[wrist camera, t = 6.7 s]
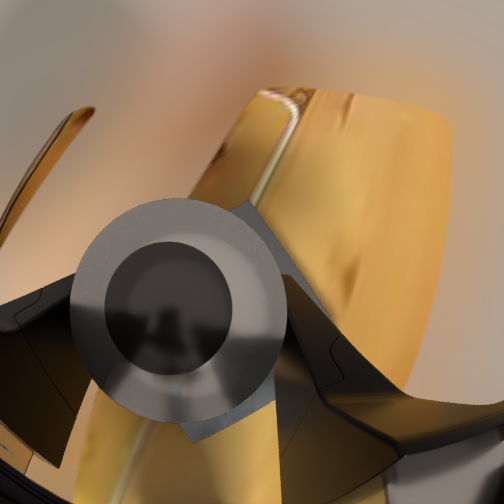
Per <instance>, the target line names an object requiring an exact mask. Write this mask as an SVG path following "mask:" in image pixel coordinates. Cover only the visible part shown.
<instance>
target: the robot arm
mask: <svg viewBox="0 0 504 504" xmlns="http://www.w3.org/2000/svg"><path fill="white" fill-rule="evenodd" d="M75 274H76V273H74V274H71V275H69V276H67V277H65V278H62V279H60V280H58V281H56V282H54V283H51V284H49V285H47V286H45V287H44V288H40V289H38V290H36V291H34V292H31V293H29V294H27V295H25V296H22V297H20V298H18V299H15V300H13V301H10V302H8V303H5V304H3V305H0V504H73V503H71V502H69V501H67V500H65V499H64V498H61V497H60V496H58V495H56V494H54V493H53V492H51V491H49V490H48V489H46V488H44V487H43V486H41V485H39V484H38V483H36V482H35V481H33V480H31V479H30V478H28V477H27V476H25V473H26V471H27V468H28V466H29V463H30V461H31V458H32V456H33V455H35V456H37V457H38V458H40V459H41V460H43V461H45V462H47V463H48V464H50V465H52V466H54V467H55V468H58V469H59V468H60V465H61V462H62V459H63V455H64V452H65V449H66V446H67V443H68V440H69V437H70V434H71V431H72V429H73V426H74V423H75V420H76V418H77V417H76V416H77V414H78V412H79V409H80V406H81V404H82V401H83V399H84V396H85V394H86V391H87V389H88V386H89V384H90V381H91V379H92V378H91V376H90V375H89V373H88V371H87V370H86V368H85V366H84V365H83V363H82V361H81V359H80V356H79V354H78V352H77V349H76V346H75V343H74V339H73V335H72V330H71V324H70V296H71V290H72V285H73V281H74V277H75ZM281 277H282V280H283V283H284V288H285V293H286V299H287V322H286V331H285V336H284V340H283V344H282V348H281V350H280V353H279V355H278V358H277V360H276V362H275V364H274V366H273V370H274V384H275V399H276V414H277V429H278V445H279V459H280V461H279V462H280V480H281V497H282V504H504V442H503V441H504V401H501V402H498V403H495V404H489V405H468V404H457V403H449V402H440V401H433V400H425V399H419V398H414V397H412V396H409V395H407V394H405V393H404V392H402V391H401V390H400V389H398V388H397V387H396V386H395V385H394V384H393V383H392V382H391V381H390V380H388V379H387V378H386V377H385V376H384V375H383V374H382V373H381V372H380V371H379V370H378V369H377V368H375V367H374V366H373V365H372V364H371V363H370V362H369V361H368V360H367V359H366V358H365V357H364V356H363V355H362V354H361V353H360V352H359V351H358V350H357V349H356V348H355V347H354V346H353V345H352V344H351V343H350V342H349V340H348V339H347V338H346V337H345V336H344V335H343V334H341V331H340V330H339V329H338V328H337V327H336V326H335V325H334V323H333V322H332V321H331V320H330V319H329V318H328V317H327V315H326V314H325V313H324V312H323V311H322V310H321V309H320V308H319V306H318V305H317V304H316V303H315V302H314V301H313V300H312V298H311V297H310V296H309V295H308V294H307V293H306V292H305V291H304V289H303V288H302V287H301V286H300V285H299V284H298V283H297V282H296V280H295V279H294V278H293V277H292V276H291V275H289V274H281Z"/></svg>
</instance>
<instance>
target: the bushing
mask: <svg viewBox="0 0 504 504" xmlns="http://www.w3.org/2000/svg"><path fill="white" fill-rule="evenodd" d="M286 322H287V299H286V293H285V288H284V283H283V280H282V277H281V273H280V270H279V268H278V266H277V263H276V261H275V259H274V257H273V255H272V253H271V252H270V250H269V249H268V247H267V246H266V244H265V243H264V241H263V240H262V239H261V238H260V237H259V236H258V234H257V233H256V232H255V231H254V230H253V229H252V228H251V227H250V226H248V225H247V224H246V223H245V222H244V221H243V220H241V219H240V218H238V217H237V216H235V215H234V214H232V213H231V212H229V211H227V210H225V209H223V208H221V207H219V206H216V205H213V204H210V203H207V202H203V201H198V200H193V199H181V198H176V199H163V200H158V201H152V202H149V203H146V204H143V205H140V206H138V207H135V208H133V209H131V210H129V211H127V212H125V213H124V214H122V215H120V216H119V217H117V218H116V219H115V220H113V221H112V222H111V223H110V224H108V225H107V226H106V227H105V228H104V229H103V230H102V231H101V232H100V233H99V234H98V235H97V236H96V238H95V239H94V240H93V242H92V243H91V244H90V246H89V247H88V249H87V250H86V252H85V254H84V256H83V257H82V259H81V262H80V264H79V266H78V268H77V271H76V274H75V277H74V281H73V285H72V290H71V296H70V324H71V330H72V335H73V339H74V343H75V346H76V349H77V352H78V354H79V356H80V359H81V361H82V363H83V365H84V366H85V368H86V370H87V371H88V373H89V375H90V376H91V378H92V379H93V380H94V381H95V382H96V384H97V385H98V386H99V387H100V388H101V389H102V390H103V391H104V392H105V393H106V394H107V395H108V396H109V397H110V398H111V399H113V400H114V401H115V402H117V403H118V404H119V405H121V406H122V407H124V408H126V409H127V410H129V411H131V412H133V413H135V414H138V415H140V416H143V417H145V418H148V419H152V420H156V421H160V422H168V423H193V422H198V421H204V420H208V419H211V418H214V417H217V416H219V415H222V414H224V413H226V412H228V411H230V410H232V409H233V408H235V407H237V406H238V405H239V404H241V403H242V402H244V401H245V400H246V399H248V398H249V397H250V396H251V395H252V394H253V393H254V392H255V391H256V390H257V389H258V388H259V387H260V385H261V384H262V383H263V382H264V380H265V379H266V378H267V376H268V375H269V373H270V371H271V370H272V368H273V366H274V364H275V362H276V360H277V358H278V355H279V353H280V350H281V348H282V344H283V340H284V336H285V331H286Z"/></svg>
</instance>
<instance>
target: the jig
mask: <svg viewBox="0 0 504 504" xmlns="http://www.w3.org/2000/svg"><path fill="white" fill-rule="evenodd" d="M229 212H231V213H232V214H234V215H235V216H237V217H238V218H240V219H241V220H243V221H244V222H245V223H246V224H247V225H248V226H250V227H251V228H252V229H253V230H254V231H255V232H256V233H257V234H258V236H259V237H260V238H261V239H262V240H263V241H264V243H265V244H266V246H267V247H268V249H269V250H270V252H271V253H272V255H273V257H274V259H275V261H276V263H277V266H278V268H279V270H280V273H281V274H289V275H291V276H292V277H293V278H294V279H295V280H296V282H297V283H298V284H299V285H300V286H301V287H302V288H303V289H304V291H305V292H306V293H307V294H308V295H309V296H310V297H311V298H312V300H313V301H314V302H315V303H316V304H317V305H318V306H319V308H320V309H321V310H322V311H323V312H324V313H325V314H326V315H327V317H328V318H329V319H330V320H331V321H332V319H331V318H330V316H329V315H328V313H327V312H326V310H325V309H324V307H323V306H322V304H321V303H320V301H319V300H318V298H317V297H316V295H315V294H314V292H313V291H312V289H311V288H310V286H309V285H308V283H307V282H306V281H305V279H304V278H303V276H302V275H301V273H300V272H299V270H298V269H297V267H296V266H295V264H294V263H293V262H292V260H291V259H290V257H289V256H288V254H287V253H286V251H285V250H284V249H283V247H282V246H281V244H280V243H279V241H278V240H277V238H276V237H275V236H274V234H273V233H272V231H271V230H270V229H269V227H268V226H267V224H266V223H265V221H264V220H263V219H262V217H261V216H260V214H259V213H258V212H257V210H256V209H255V207H254V206H253V205H252V203H251V202H250V200H248V201H246V202H245V203H243V204H241V205H239V206H238V207H236V208H234V209H232V210H231V211H229ZM332 322H333V321H332ZM333 323H334V322H333ZM334 325H335V324H334ZM335 326H336V325H335ZM274 400H275V384H274V370H273V368H272V370H271V371H270V373H269V375H268V376H267V378H266V379H265V380H264V382H263V383H262V384H261V385H260V387H259V388H258V389H257V390H256V391H255V392H254V393H253V394H252V395H251V396H250V397H249V398H248V399H246V400H245V401H244V402H242V403H241V404H239V405H238V406H237V407H235V408H233V409H232V410H230V411H228V412H226V413H224V414H222V415H219V416H217V417H214V418H211V419H208V420H204V421H198V422H193V423H178V424H179V425H180V427H181V428H182V429H183V431H184V432H185V433H186V435H187V436H188V437H189V439H190V440H191V441H192V443H193V444H194V443H196V442H198V441H200V440H202V439H204V438H206V437H208V436H210V435H213V434H215V433H217V432H218V431H220V430H222V429H224V428H226V427H228V426H230V425H232V424H234V423H236V422H237V421H239V420H241V419H243V418H245V417H247V416H248V415H250V414H252V413H254V412H255V411H257V410H259V409H260V408H262V407H264V406H265V405H267V404H269V403H270V402H272V401H274Z"/></svg>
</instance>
